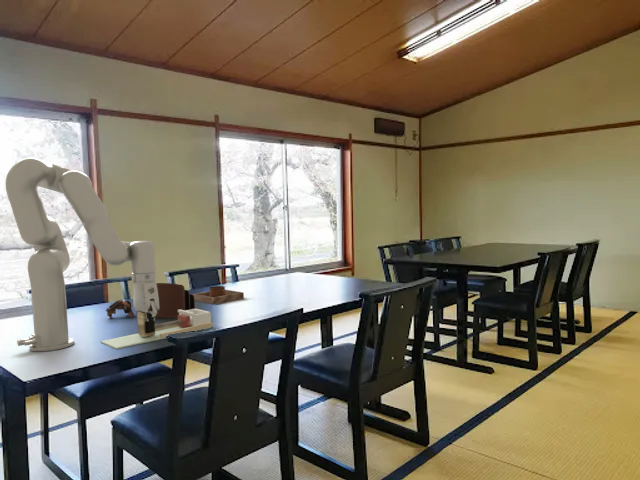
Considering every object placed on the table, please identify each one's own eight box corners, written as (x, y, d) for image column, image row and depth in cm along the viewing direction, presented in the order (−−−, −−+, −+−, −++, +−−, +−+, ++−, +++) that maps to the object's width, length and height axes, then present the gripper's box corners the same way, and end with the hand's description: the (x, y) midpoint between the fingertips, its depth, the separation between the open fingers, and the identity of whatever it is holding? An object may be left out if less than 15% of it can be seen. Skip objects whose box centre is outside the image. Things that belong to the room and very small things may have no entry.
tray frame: (213, 304, 219) (213, 297, 218) (193, 300, 230) (192, 294, 230) (243, 298, 231) (243, 292, 230) (223, 295, 243) (222, 289, 242)
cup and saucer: (235, 298, 233) (234, 285, 233) (220, 303, 222) (219, 289, 222) (214, 297, 238) (214, 284, 238) (199, 301, 227) (198, 288, 227)
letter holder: (185, 318, 192) (183, 283, 191) (139, 318, 196) (137, 283, 195) (195, 313, 202) (194, 279, 201) (151, 312, 205) (149, 279, 205)
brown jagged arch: (130, 320, 193) (118, 304, 190) (111, 330, 194) (99, 314, 192) (142, 307, 204) (130, 291, 202) (124, 316, 206) (112, 301, 204)
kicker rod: (144, 337, 160) (143, 313, 160) (137, 334, 164) (136, 311, 163) (190, 327, 173) (189, 305, 172) (183, 325, 176) (182, 303, 176)
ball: (195, 314, 175) (200, 322, 176) (190, 313, 177) (195, 320, 179) (188, 321, 173) (193, 329, 174) (182, 320, 175) (188, 327, 177)
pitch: (116, 349, 150) (115, 329, 150) (100, 342, 159) (99, 323, 158) (212, 327, 175) (212, 310, 175) (195, 322, 184) (194, 306, 183)
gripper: (166, 278, 159) (169, 333, 160) (143, 274, 171) (145, 325, 172) (144, 281, 154) (147, 337, 155) (122, 277, 166) (125, 329, 167)
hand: (146, 330), depth 164 cm, fingers closed on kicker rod, 4 cm apart
